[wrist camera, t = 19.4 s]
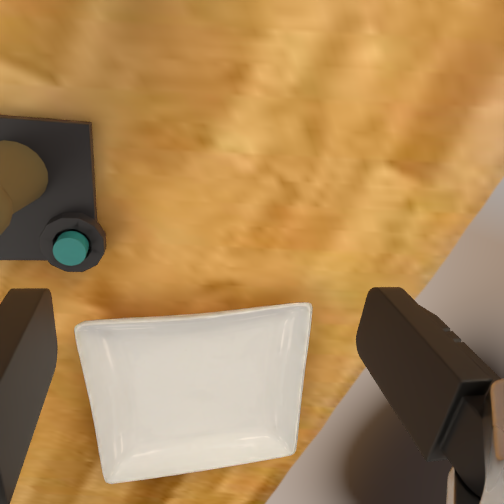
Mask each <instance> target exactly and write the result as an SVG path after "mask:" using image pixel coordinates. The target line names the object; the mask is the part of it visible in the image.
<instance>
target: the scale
mask: <svg viewBox="0 0 504 504" xmlns="http://www.w3.org/2000/svg"><path fill="white" fill-rule="evenodd" d="M3 140H6V141H14V142H18V143H20V144H23V145H25V146H27V147H29V148H30V149H32V150H33V151H34V152H36V153H37V154H38V156H39V157H40V158H41V159H42V161H43V162H44V164H45V167H46V169H47V172H48V184H47V187H46V190H45V192H44V193H43V194H42V195H41V196H40V198H38V199H37V200H35V201H33V202H32V203H30V204H28V205H27V206H25V207H24V208H22V209H20V210H19V211H17V212H15V213H14V214H12V218H11V221H10V224H9V226H8V227H7V228H6V229H5V230H4V232H3V233H2V234H1V235H0V260H48V262H49V263H50V264H51V265H53V266H55V267H57V268H59V269H62V270H64V271H67V272H83V271H85V270H88V269H90V268H92V267H94V266H96V265H97V264H98V262H99V261H100V259H101V258H102V256H103V255H104V252H105V249H106V233H105V232H104V230H103V229H102V227H101V226H100V224H99V223H98V222H97V207H96V190H95V173H94V156H93V139H92V123H91V122H82V121H70V120H57V119H45V118H32V117H20V116H7V115H0V141H3ZM66 231H77V232H79V233H81V234H83V235H84V236H85V237H86V238H87V240H88V242H89V249H88V252H87V255H86V257H85V259H84V260H83V261H82V262H81V263H80V264H77V265H73V266H68V265H64V264H62V263H60V262H59V261H57V260H56V258H55V257H54V255H53V246H54V244H55V242H56V240H57V239H58V237H59V236H60V235H61V234H62V233H64V232H66Z"/></svg>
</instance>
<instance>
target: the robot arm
mask: <svg viewBox="0 0 504 504" xmlns="http://www.w3.org/2000/svg"><path fill="white" fill-rule="evenodd" d="M356 346H357V351H358V354H359V356H360V358H361V359H362V361H363V363H364V364H365V366H366V367H367V369H368V370H369V372H370V374H371V375H372V377H373V378H374V380H375V381H376V383H377V384H378V386H379V388H380V389H381V391H382V392H383V394H384V396H385V397H386V399H387V400H388V402H389V404H390V405H391V407H392V408H393V410H394V411H395V413H396V415H397V416H398V418H399V419H400V421H401V422H402V424H403V426H404V427H405V429H406V430H407V432H408V433H409V435H410V437H411V438H412V440H413V441H414V443H415V444H416V446H417V448H418V449H419V451H420V452H421V454H422V455H423V457H424V459H425V460H426V461H427V462H429V461H438V460H447V459H448V460H449V461H450V463H451V464H452V468H451V470H450V472H449V474H448V483H447V504H504V379H501V378H500V377H499V376H498V375H497V374H496V373H495V372H493V370H492V369H491V368H490V367H488V366H487V365H486V364H485V363H484V362H483V361H482V360H481V359H480V358H479V357H478V356H477V355H476V354H475V353H474V352H473V351H472V350H471V349H470V348H469V347H468V346H467V345H466V344H465V343H464V342H461V339H460V338H459V337H458V336H457V335H456V334H455V333H454V332H453V331H450V328H449V327H448V326H447V325H446V324H445V323H444V322H443V321H442V320H441V319H440V318H439V317H438V316H436V315H435V314H433V313H431V312H430V311H428V310H426V309H425V308H423V307H421V306H420V305H418V304H417V303H416V302H415V300H414V299H413V298H412V297H411V296H410V295H409V294H408V293H407V292H406V291H405V290H403V289H402V288H400V287H374V288H372V289H370V291H369V292H368V295H367V298H366V302H365V305H364V309H363V313H362V316H361V320H360V324H359V327H358V331H357V335H356ZM56 362H57V337H56V329H55V320H54V312H53V304H52V297H51V293H50V290H49V289H47V288H46V289H11V290H9V292H8V293H7V295H6V296H5V298H4V299H3V301H2V303H1V304H0V504H10V501H11V498H12V495H13V492H14V489H15V487H16V484H17V481H18V478H19V475H20V472H21V469H22V466H23V463H24V460H25V457H26V454H27V451H28V448H29V445H30V442H31V439H32V436H33V433H34V430H35V427H36V424H37V421H38V418H39V415H40V412H41V409H42V407H43V404H44V401H45V398H46V395H47V392H48V389H49V386H50V383H51V380H52V377H53V374H54V371H55V367H56Z"/></svg>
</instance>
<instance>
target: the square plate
mask: <svg viewBox="0 0 504 504" xmlns="http://www.w3.org/2000/svg"><path fill="white" fill-rule="evenodd" d="M311 320H312V305H311V303H308V302H299V303H288V304H279V305H271V306H261V307H253V308H245V309H237V310H228V311H219V312H209V313H199V314H185V315H171V316H155V317H134V318H118V319H100V320H90V321H83V322H81V323H80V324H78V325H76V326H75V329H74V333H75V339H76V344H77V349H78V353H79V357H80V361H81V366H82V370H83V374H84V379H85V383H86V388H87V392H88V396H89V401H90V405H91V410H92V416H93V421H94V426H95V432H96V438H97V444H98V450H99V455H100V461H101V467H102V472H103V476H104V479H105V481H106V482H107V483H110V484H114V483H122V482H129V481H136V480H144V479H151V478H158V477H165V476H172V475H179V474H185V473H192V472H198V471H204V470H211V469H217V468H223V467H229V466H235V465H241V464H246V463H252V462H258V461H263V460H269V459H274V458H280V457H285V456H289V455H292V454H294V453H295V451H296V446H297V439H298V429H299V418H300V409H301V398H302V390H303V381H304V374H305V366H306V358H307V351H308V344H309V336H310V328H311Z"/></svg>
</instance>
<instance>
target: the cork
mask: <svg viewBox="0 0 504 504" xmlns="http://www.w3.org/2000/svg"><path fill="white" fill-rule="evenodd" d="M47 184H48V172H47V169H46V167H45V164H44V162H43V161H42V159H41V158H40V157H39V156H38V154H37V153H36V152H34V151H33V150H32V149H30V148H29V147H27V146H25V145H23V144H20V143H18V142H14V141H6V140H3V141H0V235H1V234H2V233H3V232H4V230H5V229H6V228H7V227H8V226H9V224H10V221H11V218H12V214H14V213H15V212H17V211H19V210H20V209H22V208H24V207H25V206H27V205H28V204H30V203H32V202H33V201H35V200H37V199H38V198H40V196H41V195H42V194H43V193H44V192H45V190H46V187H47Z"/></svg>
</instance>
